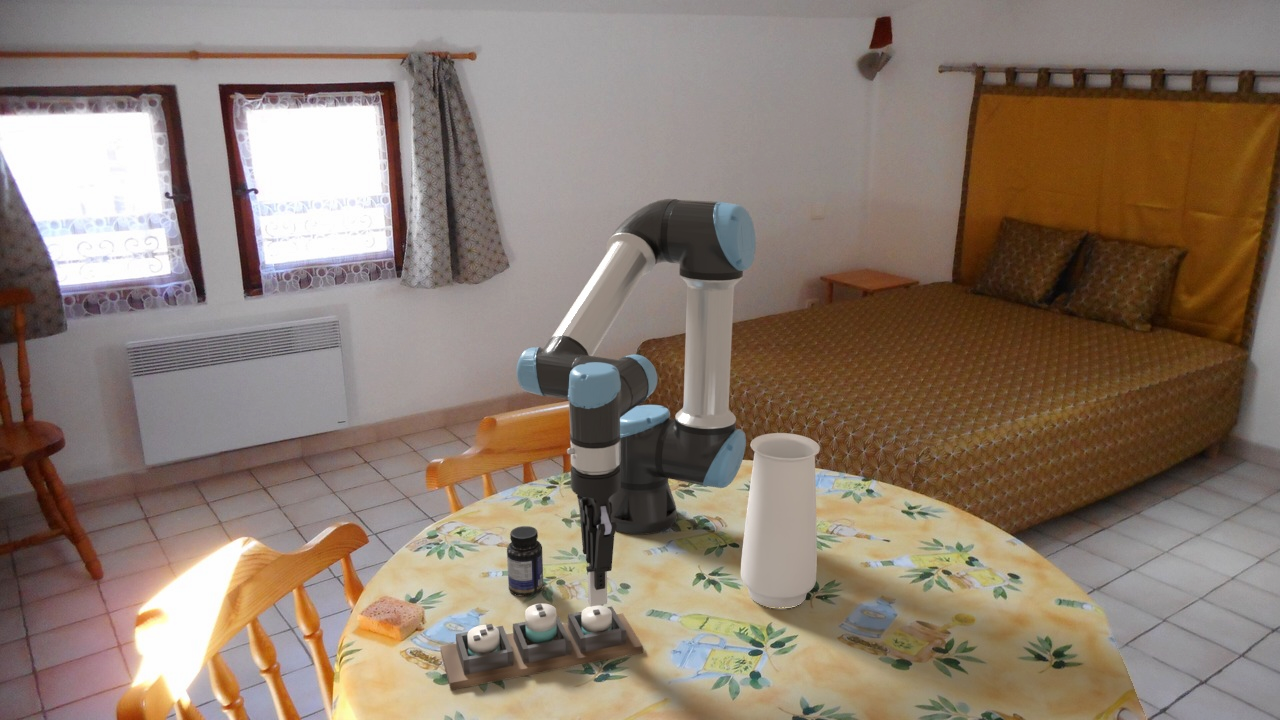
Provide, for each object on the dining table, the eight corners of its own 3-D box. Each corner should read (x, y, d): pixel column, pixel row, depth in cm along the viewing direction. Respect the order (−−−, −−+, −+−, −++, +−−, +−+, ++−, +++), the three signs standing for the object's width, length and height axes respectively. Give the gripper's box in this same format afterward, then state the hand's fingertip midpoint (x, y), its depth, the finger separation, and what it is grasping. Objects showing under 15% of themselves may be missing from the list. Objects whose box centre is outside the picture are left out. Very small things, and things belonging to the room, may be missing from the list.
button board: (622, 619, 163) (622, 599, 162) (642, 652, 154) (642, 631, 153) (440, 652, 153) (439, 632, 152) (450, 690, 144) (449, 668, 143)
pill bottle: (529, 576, 177) (527, 520, 173) (550, 588, 172) (549, 532, 169) (501, 588, 172) (499, 531, 169) (522, 601, 168) (520, 543, 165)
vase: (743, 572, 178) (749, 428, 170) (816, 580, 176) (825, 434, 167) (735, 610, 166) (741, 456, 158) (813, 618, 163) (823, 463, 155)
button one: (606, 624, 159) (606, 600, 158) (615, 640, 155) (615, 616, 153) (578, 630, 158) (577, 606, 156) (586, 646, 153) (586, 621, 152)
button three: (496, 645, 153) (495, 620, 152) (503, 662, 149) (501, 636, 148) (466, 650, 152) (464, 625, 151) (471, 668, 148) (470, 642, 146)
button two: (552, 623, 156) (551, 599, 154) (560, 639, 151) (559, 614, 150) (522, 629, 154) (522, 604, 153) (529, 645, 150) (528, 620, 148)
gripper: (560, 452, 152) (564, 586, 159) (583, 486, 141) (586, 629, 148) (606, 446, 155) (608, 578, 162) (632, 479, 143) (633, 620, 150)
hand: (597, 602), depth 155 cm, fingers closed
